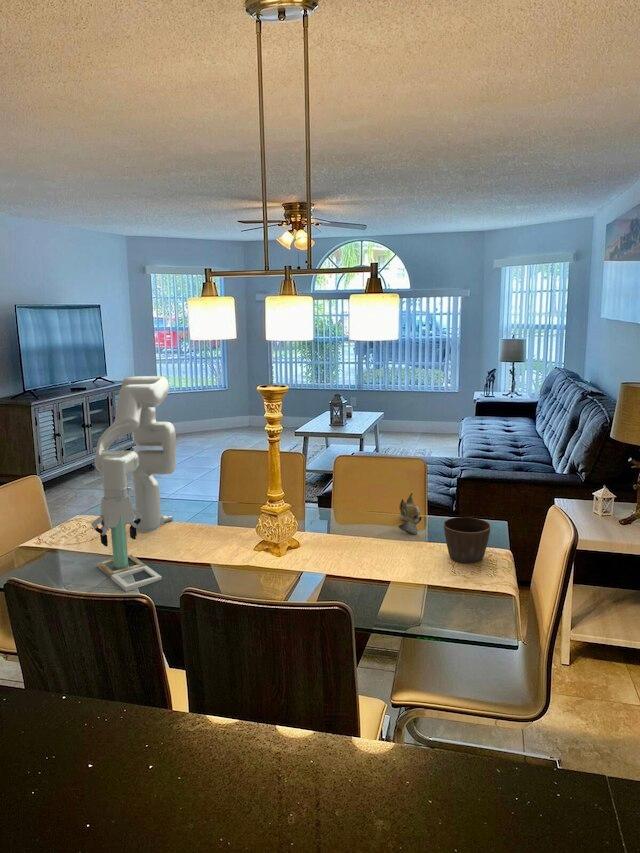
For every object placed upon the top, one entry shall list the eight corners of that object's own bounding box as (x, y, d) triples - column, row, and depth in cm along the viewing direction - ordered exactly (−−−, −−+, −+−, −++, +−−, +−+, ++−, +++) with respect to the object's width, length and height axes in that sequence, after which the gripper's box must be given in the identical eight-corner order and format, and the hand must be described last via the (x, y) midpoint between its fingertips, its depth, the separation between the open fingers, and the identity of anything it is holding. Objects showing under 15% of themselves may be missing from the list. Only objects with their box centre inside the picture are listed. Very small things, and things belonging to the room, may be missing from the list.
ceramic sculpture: (416, 540, 237) (416, 501, 234) (394, 536, 241) (394, 498, 238) (426, 531, 246) (426, 494, 243) (405, 528, 250) (405, 491, 247)
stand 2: (146, 569, 213) (146, 565, 213) (162, 581, 204) (161, 576, 204) (111, 579, 206) (111, 574, 205) (125, 591, 196) (125, 586, 196)
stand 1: (131, 558, 223) (131, 554, 223) (145, 568, 214) (145, 564, 214) (97, 567, 216) (97, 563, 215) (110, 578, 206) (110, 573, 206)
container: (127, 571, 212) (121, 499, 207) (109, 571, 212) (103, 499, 207) (132, 564, 218) (127, 494, 213) (115, 564, 218) (110, 494, 213)
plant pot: (482, 583, 198) (483, 535, 195) (436, 574, 205) (437, 527, 203) (494, 567, 211) (495, 521, 208) (450, 559, 218) (451, 514, 215)
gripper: (136, 485, 218) (139, 533, 221) (85, 495, 208) (89, 544, 211) (145, 490, 212) (148, 538, 215) (93, 500, 202) (97, 551, 205)
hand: (119, 541), depth 213 cm, fingers open, 9 cm apart
